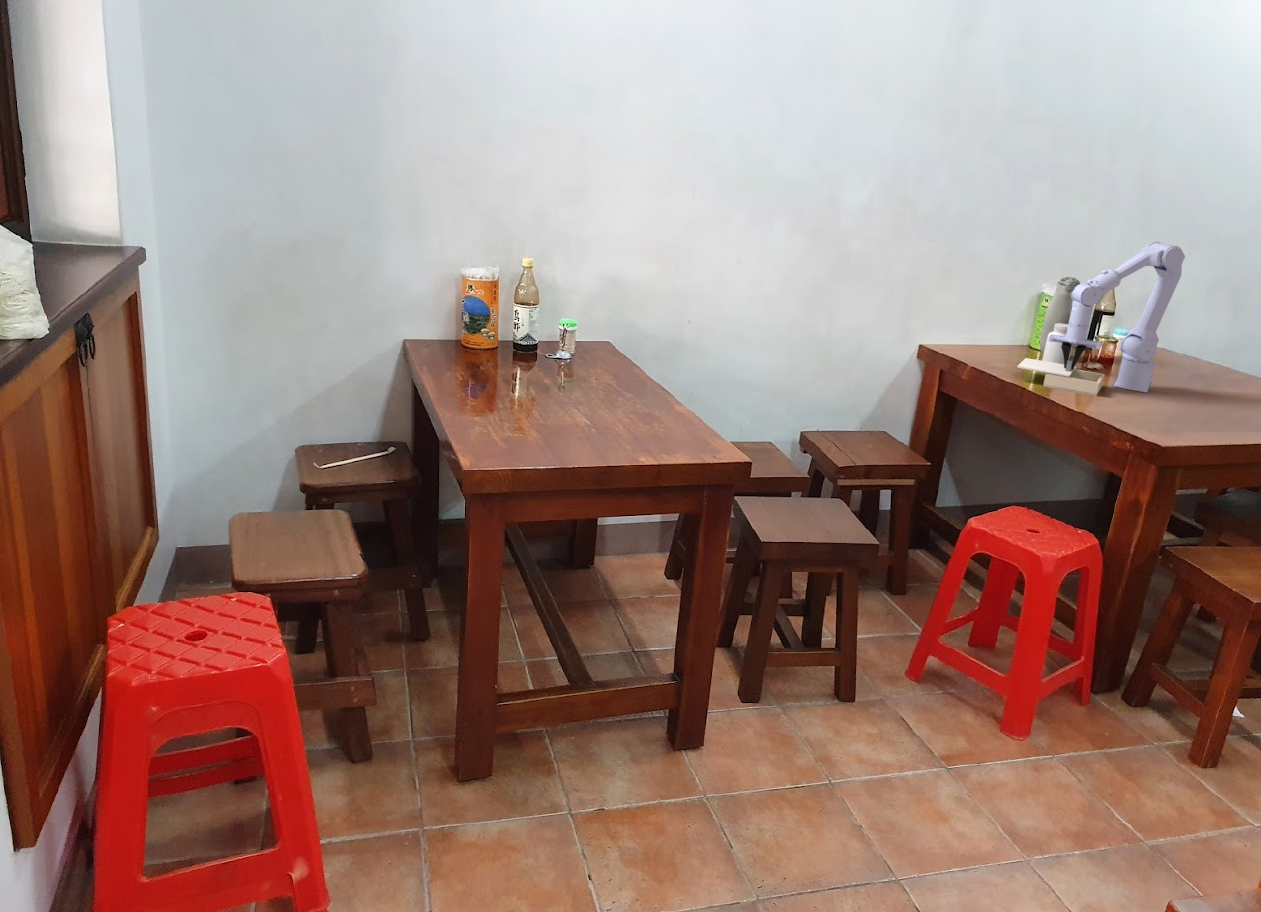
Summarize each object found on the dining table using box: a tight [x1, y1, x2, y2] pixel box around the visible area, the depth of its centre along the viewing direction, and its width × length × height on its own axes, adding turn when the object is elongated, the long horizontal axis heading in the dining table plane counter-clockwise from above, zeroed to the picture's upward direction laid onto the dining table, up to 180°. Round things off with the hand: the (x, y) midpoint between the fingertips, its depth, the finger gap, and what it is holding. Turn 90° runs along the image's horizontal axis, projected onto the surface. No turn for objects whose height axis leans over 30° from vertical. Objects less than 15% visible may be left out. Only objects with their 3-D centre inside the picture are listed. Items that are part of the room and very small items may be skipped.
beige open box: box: [1042, 368, 1106, 397], centre depth 293 cm, size 15×14×4 cm
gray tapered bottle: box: [1039, 276, 1081, 355], centre depth 324 cm, size 10×10×28 cm
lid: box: [1016, 357, 1077, 377], centre depth 295 cm, size 15×14×4 cm
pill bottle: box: [1041, 323, 1074, 364], centre depth 310 cm, size 8×8×15 cm
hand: (1068, 368), depth 293 cm, fingers closed on lid
